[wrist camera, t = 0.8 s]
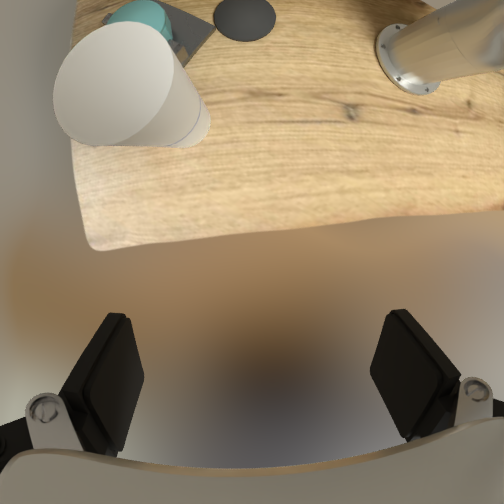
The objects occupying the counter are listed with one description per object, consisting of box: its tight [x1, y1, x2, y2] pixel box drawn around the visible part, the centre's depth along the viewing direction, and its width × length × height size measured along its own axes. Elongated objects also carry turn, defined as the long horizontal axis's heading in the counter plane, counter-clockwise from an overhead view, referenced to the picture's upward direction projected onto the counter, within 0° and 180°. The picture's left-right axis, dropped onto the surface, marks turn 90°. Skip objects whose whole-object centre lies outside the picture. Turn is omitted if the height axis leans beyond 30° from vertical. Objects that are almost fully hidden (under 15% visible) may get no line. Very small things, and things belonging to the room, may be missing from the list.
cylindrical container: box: [53, 21, 211, 148], centre depth 23 cm, size 7×7×25 cm
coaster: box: [214, 0, 276, 42], centre depth 30 cm, size 8×8×1 cm
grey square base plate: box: [102, 0, 216, 68], centre depth 27 cm, size 13×13×7 cm
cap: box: [106, 0, 173, 42], centre depth 25 cm, size 10×7×5 cm
